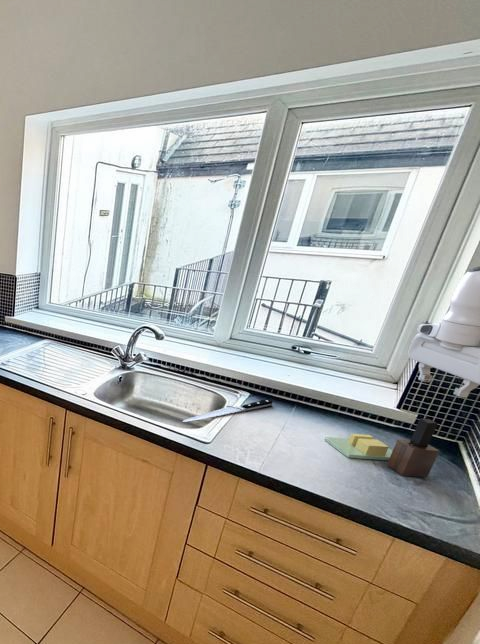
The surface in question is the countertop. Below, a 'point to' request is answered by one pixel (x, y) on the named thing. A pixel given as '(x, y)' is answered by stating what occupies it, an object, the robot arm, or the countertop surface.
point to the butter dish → (353, 449)
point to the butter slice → (355, 438)
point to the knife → (423, 433)
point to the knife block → (412, 459)
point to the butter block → (371, 447)
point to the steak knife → (233, 410)
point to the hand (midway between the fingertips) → (440, 388)
